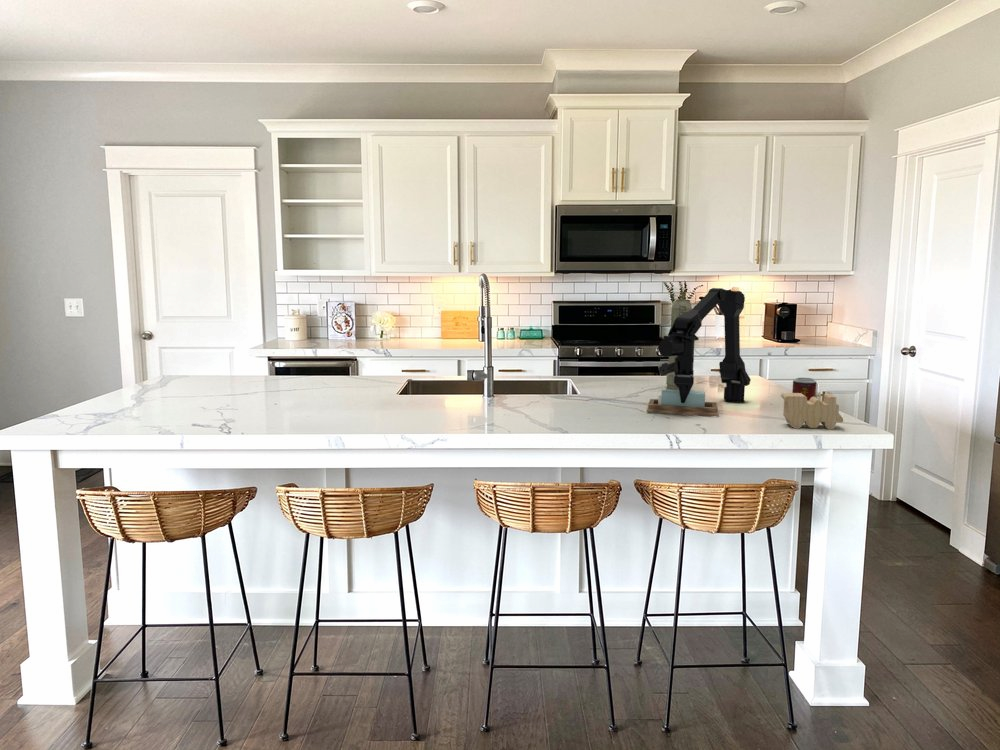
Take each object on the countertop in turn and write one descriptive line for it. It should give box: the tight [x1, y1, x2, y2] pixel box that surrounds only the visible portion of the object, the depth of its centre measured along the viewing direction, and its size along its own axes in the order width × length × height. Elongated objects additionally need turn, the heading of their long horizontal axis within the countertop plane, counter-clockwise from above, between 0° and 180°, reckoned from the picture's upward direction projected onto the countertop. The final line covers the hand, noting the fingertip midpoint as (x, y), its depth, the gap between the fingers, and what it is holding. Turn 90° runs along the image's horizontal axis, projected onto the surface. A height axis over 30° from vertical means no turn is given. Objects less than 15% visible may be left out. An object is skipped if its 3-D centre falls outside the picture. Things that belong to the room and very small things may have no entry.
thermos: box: [666, 299, 693, 390], centre depth 275 cm, size 9×12×35 cm
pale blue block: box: [657, 389, 706, 407], centre depth 241 cm, size 15×5×6 cm, turn 75°
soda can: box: [791, 377, 818, 401], centre depth 234 cm, size 7×7×12 cm
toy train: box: [780, 392, 844, 430], centre depth 219 cm, size 6×17×10 cm, turn 82°
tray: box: [645, 398, 720, 417], centre depth 241 cm, size 23×13×2 cm, turn 75°
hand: (682, 400), depth 241 cm, fingers open, 7 cm apart
